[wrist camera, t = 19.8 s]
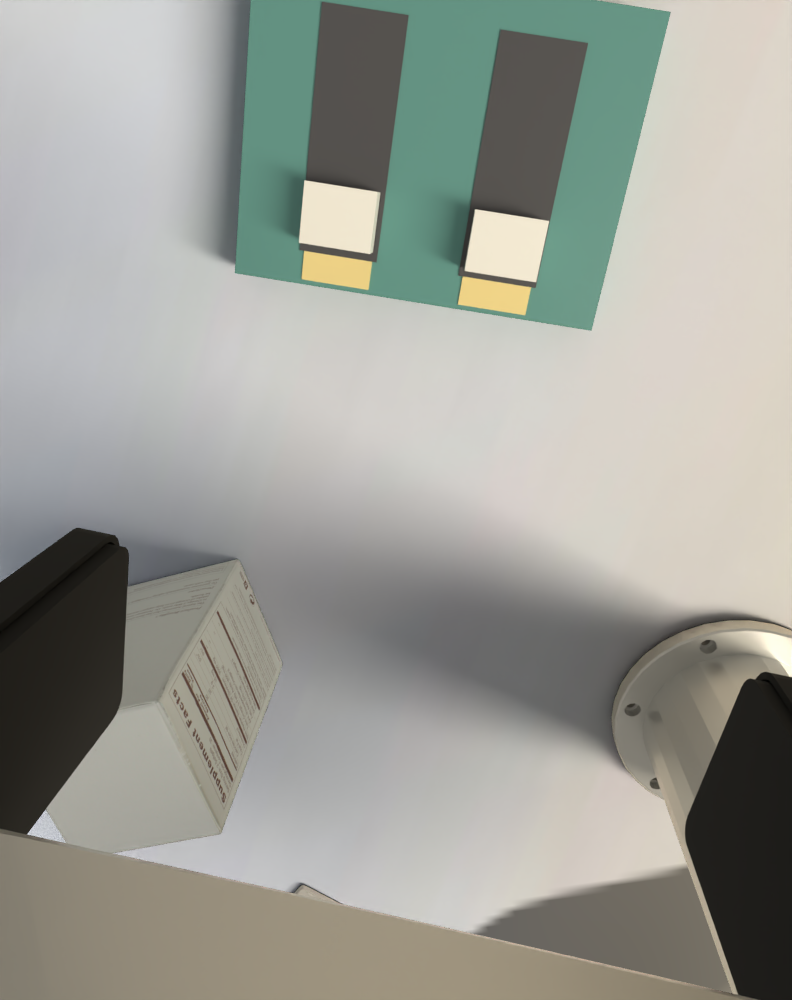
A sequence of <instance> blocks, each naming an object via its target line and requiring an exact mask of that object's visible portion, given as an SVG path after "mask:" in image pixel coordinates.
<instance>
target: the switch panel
mask: <svg viewBox="0 0 792 1000" xmlns="http://www.w3.org/2000/svg"><path fill="white" fill-rule="evenodd" d="M669 17H670V12H668V11H661V10H655V9H648V8H642V7H635V6H629V5H622V4H616V3H609V2H603V1H596V0H251V3H250V21H249V38H248V55H247V73H246V90H245V107H244V125H243V142H242V159H241V177H240V194H239V211H238V229H237V246H236V263H235V273H238V274H244V275H250V276H256V277H263V278H269V279H275V280H281V281H287V282H294V283H300V284H306V285H312V286H318V287H324V288H331V289H337V290H343V291H349V292H355V293H362V294H368V295H374V296H380V297H386V298H393V299H399V300H405V301H411V302H417V303H424V304H430V305H436V306H442V307H448V308H454V309H461V310H467V311H473V312H479V313H485V314H492V315H498V316H504V317H510V318H516V319H523V320H529V321H535V322H541V323H547V324H554V325H560V326H566V327H572V328H578V329H585V330H592V326H593V322H594V318H595V314H596V310H597V306H598V302H599V298H600V294H601V290H602V286H603V282H604V278H605V274H606V270H607V266H608V262H609V258H610V254H611V250H612V246H613V242H614V237H615V233H616V229H617V225H618V221H619V217H620V213H621V209H622V205H623V201H624V197H625V193H626V189H627V185H628V181H629V177H630V173H631V169H632V165H633V161H634V157H635V153H636V149H637V145H638V141H639V137H640V133H641V129H642V125H643V121H644V117H645V113H646V109H647V105H648V101H649V97H650V93H651V89H652V85H653V81H654V77H655V73H656V69H657V65H658V61H659V57H660V53H661V49H662V45H663V41H664V37H665V33H666V29H667V25H668V21H669ZM304 180H306V181H312V182H318V183H324V184H331V185H337V186H343V187H349V188H356V189H362V190H368V191H375V192H380V201H379V209H378V216H377V224H376V232H375V240H374V248H373V253H371V254H366V253H360V252H354V251H347V250H341V249H335V248H329V247H323V246H316V245H310V244H304V243H299V235H300V224H301V213H302V202H303V191H304ZM475 209H477V210H483V211H489V212H496V213H502V214H508V215H514V216H521V217H527V218H533V219H540V220H546V221H549V224H548V229H547V234H546V238H545V243H544V248H543V252H542V257H541V262H540V266H539V271H538V276H537V280H536V282H530V281H524V280H518V279H512V278H506V277H499V276H493V275H487V274H481V273H474V272H468V271H465V270H464V267H465V262H466V256H467V250H468V244H469V239H470V233H471V227H472V222H473V216H474V210H475Z"/></svg>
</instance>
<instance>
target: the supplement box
mask: <svg viewBox="0 0 792 1000" xmlns="http://www.w3.org/2000/svg"><path fill="white" fill-rule="evenodd" d="M282 665H283V664H282V661H281V659H280V656H279V654H278V651H277V648H276V646H275V643H274V641H273V639H272V637H271V634H270V631H269V629H268V627H267V624H266V622H265V620H264V617H263V615H262V612H261V610H260V608H259V605H258V603H257V600H256V598H255V595H254V593H253V591H252V588H251V586H250V584H249V581H248V579H247V577H246V574H245V572H244V570H243V567H242V565H241V563H240V561H239V560H238V559H236V560H232V561H228V562H224V563H219V564H215V565H211V566H207V567H203V568H199V569H195V570H191V571H187V572H184V573H180V574H176V575H172V576H168V577H164V578H160V579H156V580H152V581H148V582H144V583H140V584H136V585H132V586H128V587H127V607H126V628H125V649H124V670H123V691H122V699H121V703H120V706H119V709H118V711H117V714H116V716H115V717H114V719H113V720H112V722H111V723H110V724H109V726H108V727H107V728H106V730H105V731H104V732H103V734H102V735H101V736H100V738H99V739H98V740H97V742H96V743H95V744H94V746H93V747H92V748H91V750H90V751H89V752H88V754H87V755H86V756H85V758H84V759H83V760H82V762H81V763H80V764H79V766H78V767H77V768H76V770H75V771H74V772H73V774H72V775H71V776H70V778H69V779H68V780H67V782H66V783H65V784H64V786H63V787H62V788H61V790H60V791H59V792H58V794H57V795H56V796H55V798H54V799H53V800H52V801H51V803H50V804H49V805H48V807H47V808H46V810H47V812H48V814H49V815H50V817H51V819H52V820H53V822H54V823H55V825H56V827H57V828H58V830H59V831H60V833H61V835H62V837H63V838H64V840H65V841H66V843H67V844H72V845H76V846H81V847H85V848H90V849H94V850H99V851H104V852H108V853H117V852H123V851H128V850H134V849H139V848H145V847H151V846H156V845H162V844H167V843H173V842H178V841H184V840H190V839H195V838H201V837H207V836H213V835H219V834H221V833H222V830H223V827H224V824H225V821H226V819H227V816H228V813H229V810H230V808H231V805H232V802H233V800H234V797H235V794H236V791H237V789H238V786H239V783H240V780H241V778H242V775H243V772H244V770H245V767H246V764H247V761H248V759H249V756H250V753H251V750H252V747H253V745H254V742H255V739H256V737H257V734H258V731H259V728H260V726H261V723H262V720H263V718H264V715H265V712H266V710H267V707H268V704H269V701H270V698H271V696H272V693H273V691H274V688H275V685H276V682H277V679H278V677H279V674H280V671H281V668H282Z"/></svg>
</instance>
